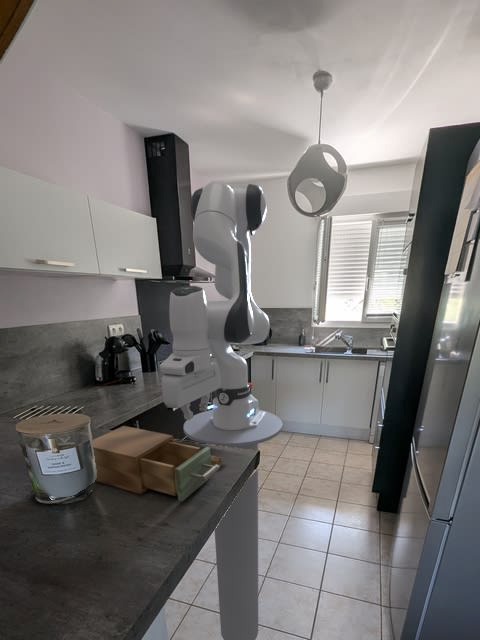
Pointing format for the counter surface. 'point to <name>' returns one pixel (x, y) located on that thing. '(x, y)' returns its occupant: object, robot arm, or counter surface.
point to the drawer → (176, 469)
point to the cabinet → (125, 456)
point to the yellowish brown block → (216, 461)
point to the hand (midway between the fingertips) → (196, 414)
